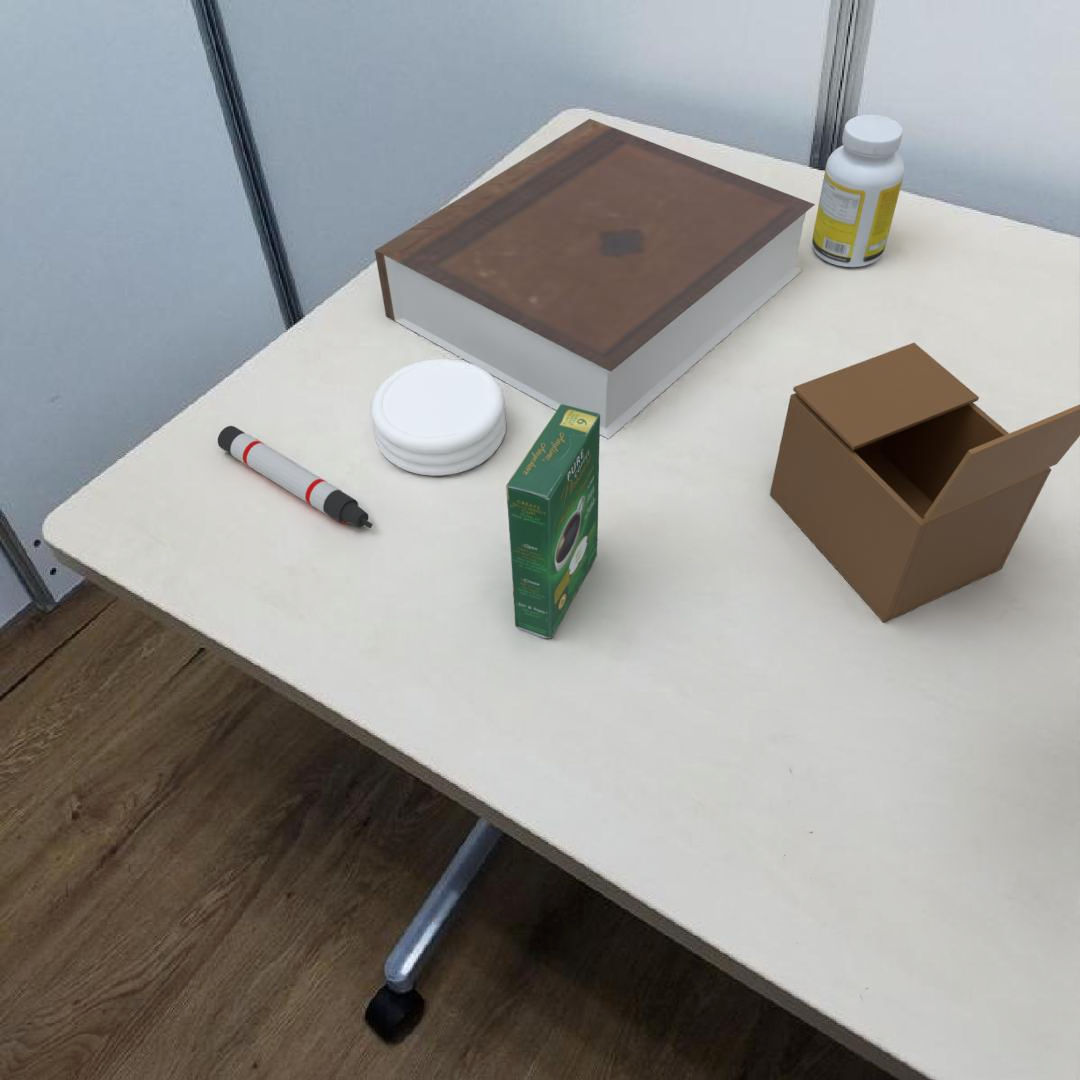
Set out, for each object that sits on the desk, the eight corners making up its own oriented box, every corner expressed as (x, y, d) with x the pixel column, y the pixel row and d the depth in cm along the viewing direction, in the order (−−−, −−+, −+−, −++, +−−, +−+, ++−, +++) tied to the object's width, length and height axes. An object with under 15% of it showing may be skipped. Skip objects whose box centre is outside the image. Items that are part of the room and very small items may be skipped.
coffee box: (562, 541, 70) (559, 397, 60) (600, 553, 69) (604, 410, 60) (511, 627, 66) (500, 487, 56) (552, 642, 65) (547, 502, 55)
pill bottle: (887, 236, 94) (919, 114, 85) (878, 276, 90) (911, 152, 81) (816, 225, 95) (840, 104, 86) (804, 263, 91) (828, 141, 82)
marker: (221, 454, 77) (214, 434, 75) (241, 439, 78) (234, 420, 76) (366, 545, 71) (361, 526, 69) (385, 527, 72) (381, 508, 70)
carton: (1001, 568, 68) (1056, 461, 60) (883, 622, 65) (924, 517, 57) (879, 450, 75) (914, 341, 68) (769, 494, 73) (792, 386, 65)
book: (386, 316, 88) (374, 250, 83) (589, 182, 101) (589, 118, 96) (608, 439, 77) (610, 371, 72) (802, 270, 90) (815, 204, 85)
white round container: (350, 453, 77) (342, 419, 74) (420, 376, 82) (415, 341, 80) (464, 496, 73) (460, 461, 71) (529, 412, 79) (527, 377, 76)
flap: (1053, 460, 60) (1056, 464, 60) (923, 516, 58) (926, 520, 57) (1109, 391, 55) (1112, 396, 55) (968, 449, 52) (972, 454, 52)
